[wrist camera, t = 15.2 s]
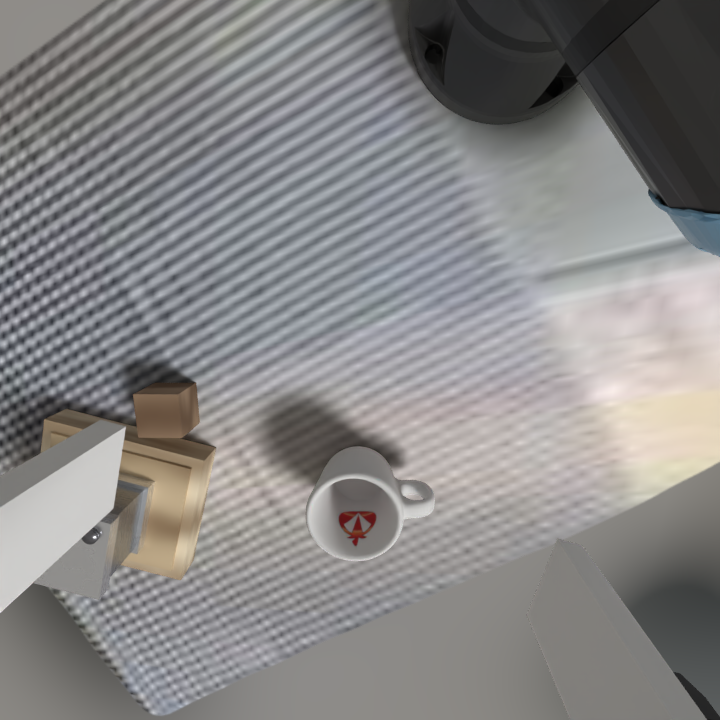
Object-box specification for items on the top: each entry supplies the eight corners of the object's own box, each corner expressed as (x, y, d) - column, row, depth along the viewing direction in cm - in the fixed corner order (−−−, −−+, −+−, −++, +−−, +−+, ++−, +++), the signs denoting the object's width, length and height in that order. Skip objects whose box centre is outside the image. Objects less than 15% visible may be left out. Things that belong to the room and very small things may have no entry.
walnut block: (155, 382, 43) (132, 394, 39) (196, 382, 43) (177, 394, 39) (159, 422, 44) (138, 437, 40) (199, 422, 44) (182, 437, 40)
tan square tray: (66, 408, 44) (41, 420, 41) (216, 447, 44) (203, 462, 41) (52, 524, 47) (28, 543, 44) (193, 560, 47) (179, 582, 44)
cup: (429, 435, 43) (440, 473, 35) (428, 511, 45) (438, 564, 37) (316, 435, 43) (302, 472, 36) (319, 510, 45) (306, 562, 37)
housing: (72, 527, 43) (9, 581, 36) (80, 462, 41) (17, 504, 34) (143, 546, 43) (96, 603, 36) (155, 481, 42) (107, 527, 34)
